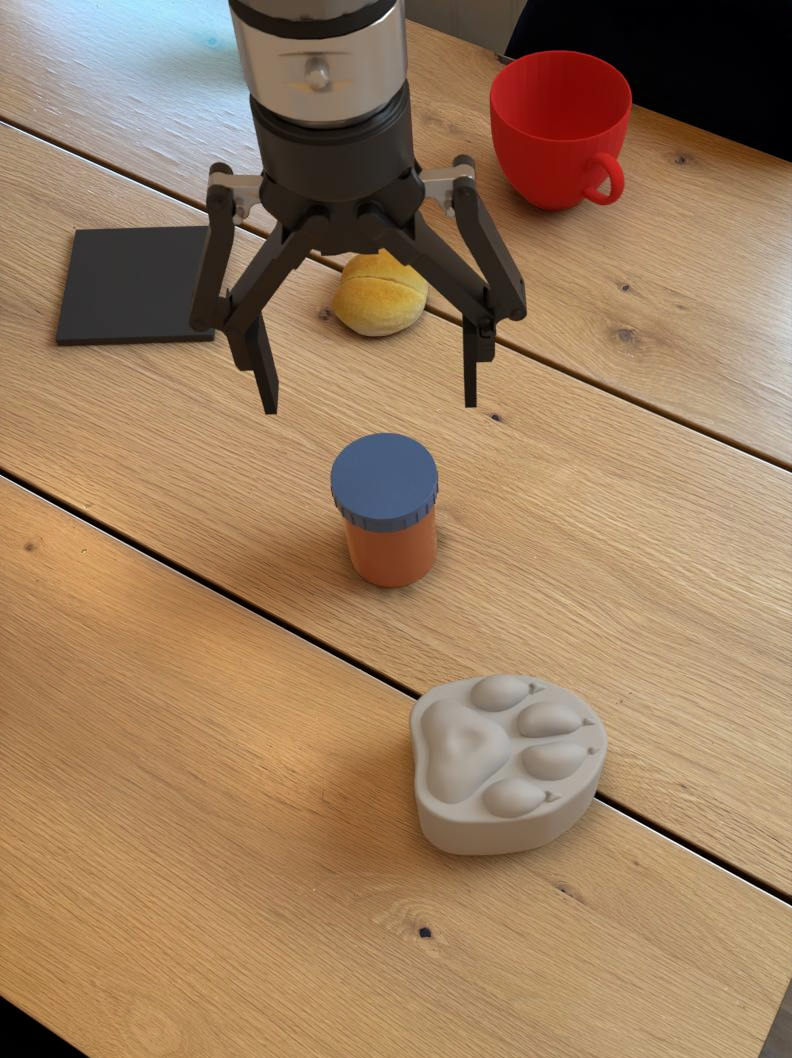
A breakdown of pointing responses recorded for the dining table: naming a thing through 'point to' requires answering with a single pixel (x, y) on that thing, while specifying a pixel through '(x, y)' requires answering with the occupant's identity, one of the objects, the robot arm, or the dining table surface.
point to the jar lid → (384, 482)
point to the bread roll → (379, 295)
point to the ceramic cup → (560, 127)
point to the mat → (131, 286)
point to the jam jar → (393, 552)
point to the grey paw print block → (503, 763)
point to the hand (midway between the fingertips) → (371, 395)
